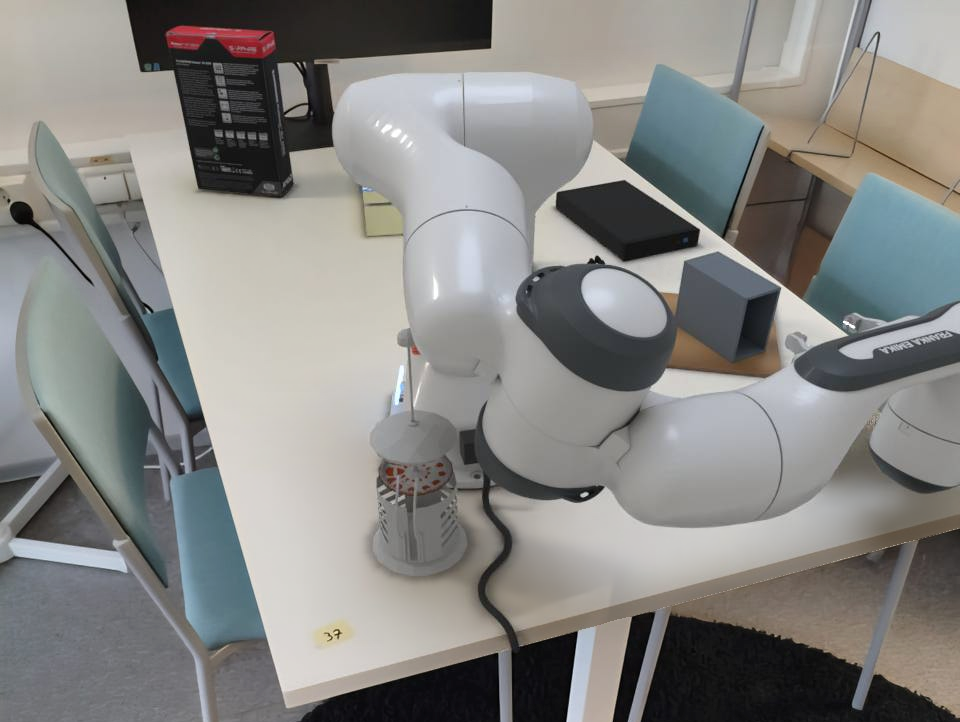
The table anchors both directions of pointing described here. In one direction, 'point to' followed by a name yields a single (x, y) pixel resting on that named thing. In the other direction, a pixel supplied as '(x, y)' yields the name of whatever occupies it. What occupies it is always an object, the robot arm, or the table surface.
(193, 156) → the graphics card box
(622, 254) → the external hard drive
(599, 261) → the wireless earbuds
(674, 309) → the cork pad
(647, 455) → the robot arm
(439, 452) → the french press
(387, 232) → the cream box
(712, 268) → the grey basket
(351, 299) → the table surface
